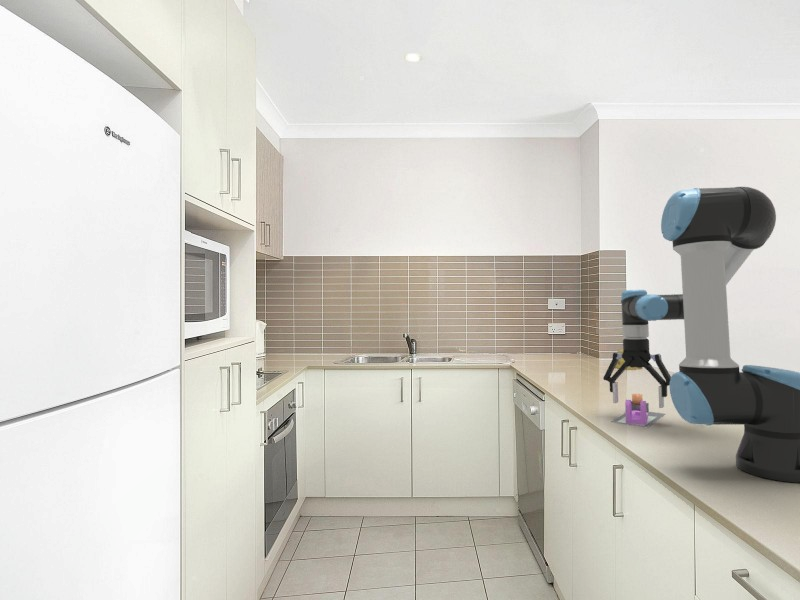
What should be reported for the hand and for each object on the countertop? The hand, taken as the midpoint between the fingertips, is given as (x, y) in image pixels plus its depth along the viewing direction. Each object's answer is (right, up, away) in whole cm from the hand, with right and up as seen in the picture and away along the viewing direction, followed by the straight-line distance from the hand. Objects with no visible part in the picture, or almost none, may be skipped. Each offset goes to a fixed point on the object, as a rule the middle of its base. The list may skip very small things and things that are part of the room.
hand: (638, 405), depth 154 cm
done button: (+5, -3, +10) cm, 12 cm away
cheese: (+49, -4, +111) cm, 121 cm away
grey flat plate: (+2, -5, +3) cm, 6 cm away
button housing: (+5, -5, +10) cm, 12 cm away
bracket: (0, -5, +1) cm, 5 cm away
